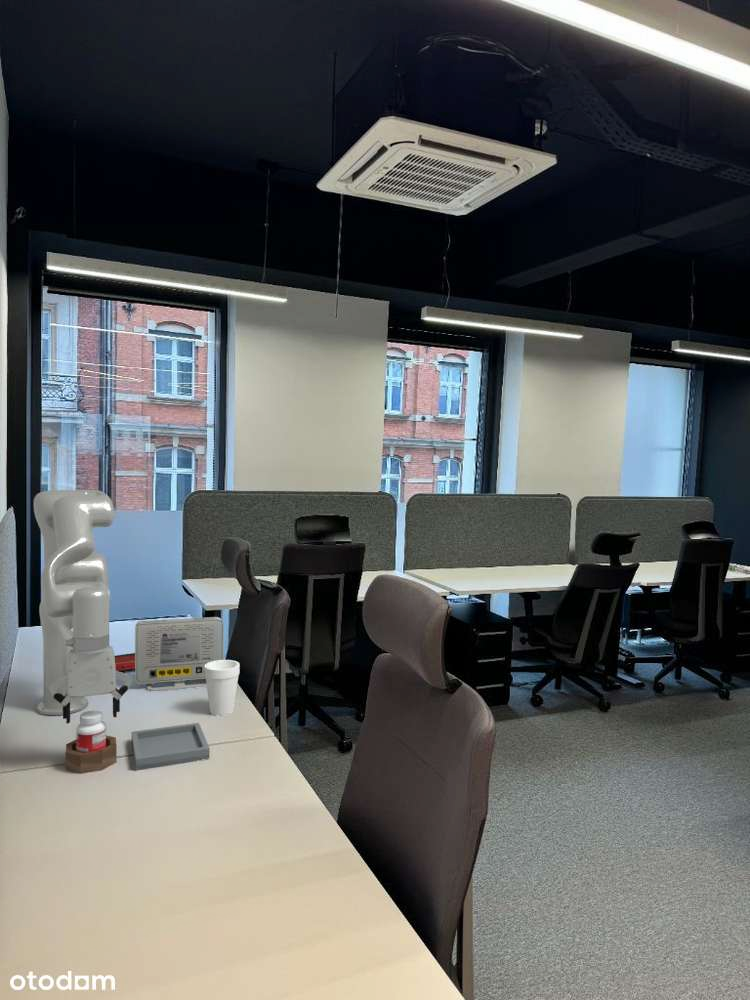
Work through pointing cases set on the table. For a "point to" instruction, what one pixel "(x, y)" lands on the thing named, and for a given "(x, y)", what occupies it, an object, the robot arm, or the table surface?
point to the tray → (169, 746)
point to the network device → (176, 650)
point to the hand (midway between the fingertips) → (91, 718)
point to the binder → (125, 662)
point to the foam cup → (222, 685)
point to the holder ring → (91, 757)
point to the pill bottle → (91, 732)
